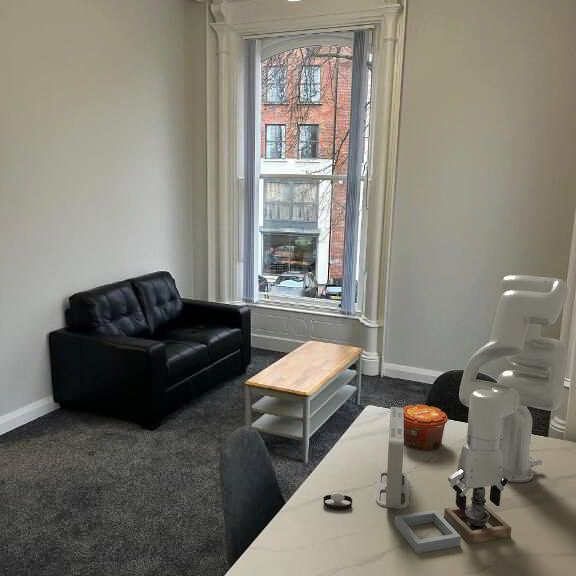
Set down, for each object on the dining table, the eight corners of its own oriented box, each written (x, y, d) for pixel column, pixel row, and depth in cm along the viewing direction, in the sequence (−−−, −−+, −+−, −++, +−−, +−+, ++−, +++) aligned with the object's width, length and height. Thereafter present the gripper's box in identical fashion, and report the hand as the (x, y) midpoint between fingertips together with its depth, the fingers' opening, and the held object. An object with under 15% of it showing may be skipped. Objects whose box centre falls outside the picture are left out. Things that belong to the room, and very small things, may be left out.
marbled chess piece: (460, 520, 141) (463, 476, 139) (482, 519, 141) (486, 476, 139) (469, 534, 135) (473, 489, 133) (492, 533, 135) (496, 488, 133)
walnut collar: (482, 511, 145) (482, 502, 144) (510, 536, 134) (511, 527, 134) (444, 517, 142) (444, 508, 141) (469, 544, 131) (470, 534, 131)
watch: (351, 502, 148) (352, 490, 148) (352, 512, 144) (353, 499, 143) (323, 501, 149) (323, 488, 148) (323, 511, 144) (323, 498, 144)
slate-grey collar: (435, 518, 141) (435, 509, 141) (460, 545, 130) (460, 536, 130) (394, 525, 138) (395, 516, 138) (417, 553, 127) (417, 543, 127)
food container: (414, 428, 196) (416, 400, 194) (455, 443, 184) (457, 413, 183) (387, 441, 185) (388, 411, 184) (428, 458, 174) (430, 426, 172)
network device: (408, 517, 142) (412, 444, 138) (374, 512, 143) (377, 440, 140) (407, 469, 166) (411, 406, 163) (378, 466, 168) (381, 404, 165)
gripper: (503, 431, 140) (497, 493, 143) (443, 438, 135) (438, 502, 138) (523, 444, 133) (517, 509, 136) (460, 451, 128) (455, 519, 131)
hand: (477, 505), depth 137 cm, fingers open, 9 cm apart
